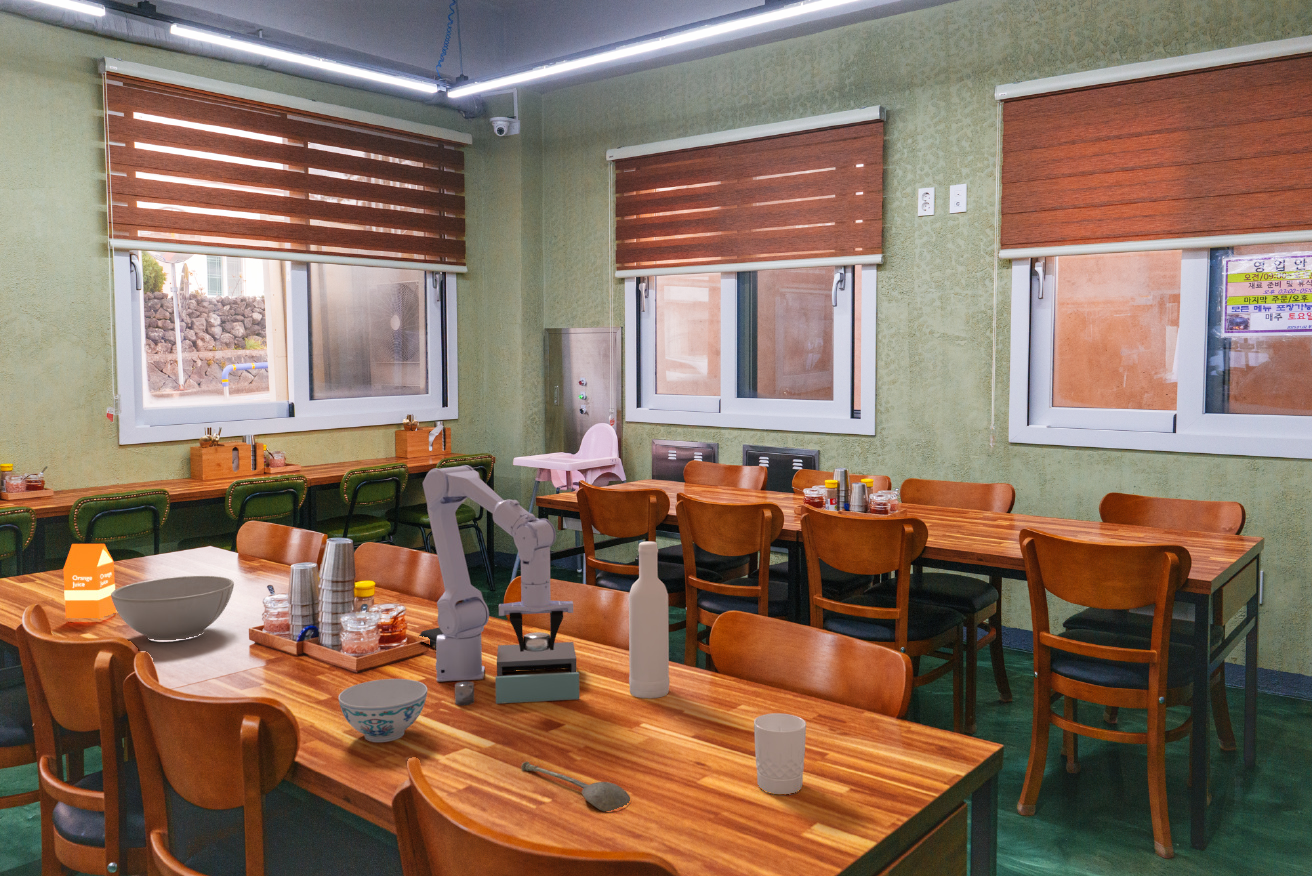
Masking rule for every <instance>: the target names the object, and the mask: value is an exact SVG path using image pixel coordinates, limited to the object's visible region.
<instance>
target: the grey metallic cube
mask: <svg viewBox="0 0 1312 876" xmlns="http://www.w3.org/2000/svg"><path fill="white" fill-rule="evenodd" d="M454 698H455V700H454V701H455V702H454V703H455V705H457V706H470V705H473V704H474V703H475V683H474V682H473V681H459V682H456V683H455V684H454Z"/></svg>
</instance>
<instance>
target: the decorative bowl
mask: <svg viewBox="0 0 1312 876" xmlns="http://www.w3.org/2000/svg"><path fill="white" fill-rule="evenodd" d="M234 586H235V583H234V581H233V580H232V579H231V578H227V577H223V576H215V575H214V576H213V575H190V576H189V575H186V576H173V577H164V578H163V577H162V578H155V579H150V580H144V581H139V582H135V583H134V582H133V583H130V584H127V585H122V586H120V587H118V588H115V590H114V591H113V592H112V593H111V599H112V602H113V604H114V606H115V608H116V613H117V614H118V615H119V617H120V618H121V619H122V620H123V621H124V623H125V624H126V625H128V626H129V627H130V628H131V629H132V630H134V631H135V632H136V633H139V634H142V635H144V636H146V638H147V637H148V638H149V639H154V640H176V639H186V638H189V637H194V636H198V635H199V634H202V633H203V632H204V631H205V629H206V628H208V627H209V626H211V625H212V624H213V623H214V622H215V621H217V619H219V618H220V616H221V615H222V614H223V612H224V611H225V610H226V609H225V608H226V607H227V606H228V604H229V601H230V600H231V597H232V594H233V590H234ZM203 634H204V633H203ZM203 634H202V635H203Z"/></svg>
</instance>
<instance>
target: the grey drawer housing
mask: <svg viewBox="0 0 1312 876" xmlns="http://www.w3.org/2000/svg"><path fill="white" fill-rule="evenodd" d="M575 649H576V648H575V645H574V642H573V641H570V642H569V641H567V642H564V641H562V642H554V650H550V649H548V650H545V651H539V652H531V651H526V650H524V652H520V646H519V643H517V644H504V645H503V644H501V645H500V644H499V645H498V646H497V655H496V676H504V673H507V672H509V671H511V672H517V671H516V670H531V671H546V670H548V671H550V670H566V669H567V670H568V672H569V673H573V672H578V671H577V670H578V669H577V655H576V651H575ZM509 673H510V672H509Z"/></svg>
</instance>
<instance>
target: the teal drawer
mask: <svg viewBox="0 0 1312 876" xmlns="http://www.w3.org/2000/svg"><path fill="white" fill-rule="evenodd" d="M494 678H495V704H496V705H497V704H510V703H513V704H514V703H529V702H547V701H548V702H549V701H550V702H551V701H566V700H567V701H568V700H580V673H579V671H577V672H573V673H570V671H556V672H555V671H554V672H553V671H552V672H537V673H535V672H534V673H517V674H516V673H514V674H513V673H512V674H503V676H497V675H495V677H494Z"/></svg>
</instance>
